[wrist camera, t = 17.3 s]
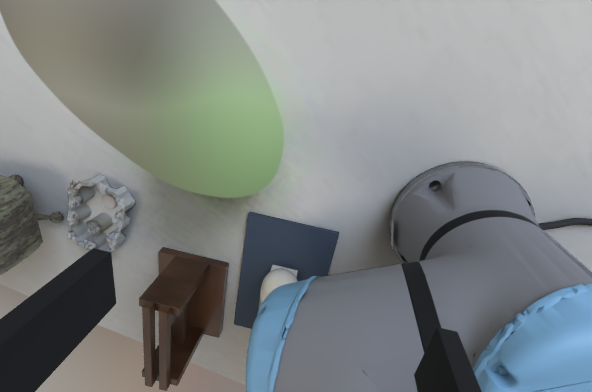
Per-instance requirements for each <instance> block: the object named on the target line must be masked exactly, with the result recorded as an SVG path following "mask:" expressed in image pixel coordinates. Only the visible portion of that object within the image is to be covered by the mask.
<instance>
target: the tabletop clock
mask: <svg viewBox="0 0 592 392" xmlns="http://www.w3.org/2000/svg"><path fill="white" fill-rule="evenodd" d="M22 183H23V179H22V177H20V176H19V175H12V176H10V177H5V176H0V275H1V274H3V273H5V272H6V271H8V270H9V269H11V268H12V267H13V266H15V265H16V264H18V263H19V262H21V261H22V260H23V259H25V258H26V257H28V256H29V255H30V254H32V253H33V252H34V251H35V250H36V249H37V248H38V247H39V246H40V245H41V243H42V242H43V241H42V236H41V232H40V228H39V224H38V220H44V219H50V220H51V221H52V222H54V223H59V222H61V221H62V220H63V218H64V216H63V214H62V213H60V212H53V213H52V214H51V215H41V214H36V212H35V208H34V204H33V199H32V195H31V193H30V192H29V191H27V190H26V189H25V188H24V187H23V186H21V184H22Z"/></svg>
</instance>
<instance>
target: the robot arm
mask: <svg viewBox="0 0 592 392" xmlns="http://www.w3.org/2000/svg"><path fill="white" fill-rule="evenodd" d="M570 225H592V219H587V218H572V219H566V220H561V221H556V222H548V223H541V224H538V223H537V222H536V219H535V213H534V209H533V206H532V203H531V201H530V198H529V196H528V195H527V193H526V191H525V190H524V189H523V188H522V187H521V185H520V184H519V183H517V182H516V181H515V180H514V179H513V178H511V177H510V176H508V175H507V174H506V173H504V172H503V171H501V170H499V169H497V168H495V167H493V166H490V165H487V164H483V163H478V162H453V163H448V164H443V165H440V166H437V167H434V168H432V169H430V170H428V171H425V172H424V173H422V174H420V175H419V176H417V177H416V178H415V179H413V180H412V181H411V182H410V183H409V184H408V185H407V186H406V187H405V188H404V189H403V190H402V191H401V192H400V194H399V195H398V197H397V199H396V200H395V202H394V205H393V207H392V210H391V213H390V219H389V230H390V235H391V246H392V251H393V246H394V249H395V251H396V253H397V255H398V257H399V258H400V259H401V261H402V262H403V263H404V264H397V265H391V266H385V267H378V268H372V269H366V270H360V271H354V272H348V273H341V274H335V275H329V276H323V277H321V276H312V277H310V278H309V279H307V280H303V281H298V282H294V283H289V284H285V285H281V286H279V287H277V288H276V289H274V290H273V291H272V292H270V293H269V295H268V296H267V297H266V298H265V300H264V301H263V303H262V305H261V306H260V308H259V311H258V314H257V317H256V319H255V321H254V324H253V327H252V331H251V335H250V340H249V345H248V352H247V362H246V392H592V272H591V271H590V270H589V269H587V268H586V267H585V266H584V265H583V264H582V263H581V262H579V261H578V260H577V259H576V258H575V257H574V256H572V255H571V254H570V253H569V252H568V251H567V250H566V249H564V248H563V247H562V246H561V245H560V244H559V243H557V242H556V241H555V240H554V239H553V238H552V237H551V236H549V235H548V234H547V233H546V232H545V231H543V230H546V229H554V228H560V227H565V226H570ZM115 304H116V297H115V287H114V277H113V267H112V257H111V252H108V251H103V250H99V249H95V248H93V249H91V250H90V251H89V252H88V253H86V254H85V255H84V256H82V257H81V258H80V259H78V260H77V261H76V262H74V263H73V264H72V265H71V266H69V267H68V268H67V269H65V270H64V271H63V272H61V273H60V274H59V275H57V276H56V277H55V278H54V279H52V280H51V281H50V282H48V283H47V284H46V285H44V286H43V287H42V288H41V289H39V290H38V291H37V292H35V293H34V294H33V295H31V296H30V297H29V298H28V299H26V300H25V301H24V302H23V303H21V304H20V305H18V306H17V307H16V308H14V309H13V310H12V311H11V312H9V313H8V314H7V315H5V316H4V317H3V318H1V319H0V392H35V391H36V390H37V389H38V388H39V387H40V385H41V384H42V383H43V382H44V381H45V380H46V379H47V378H48V377H49V376H50V375H51V374H52V373H53V371H54V370H55V369H56V368H57V367H58V366H59V365H60V364H61V363H62V362H63V361H64V360H65V358H66V357H67V356H68V355H69V354H70V353H71V352H72V351H73V350H74V349H75V348H76V347H77V345H78V344H79V343H80V342H81V341H82V340H83V339H84V338H85V337H86V336H87V335H88V333H89V332H90V331H91V330H92V329H93V328H94V327H95V326H96V325H97V324H98V323H99V322H100V320H101V319H102V318H103V317H104V316H105V315H106V314H107V313H108V312H109V311H110V310H111V309H112V307H113V306H114V305H115Z"/></svg>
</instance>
